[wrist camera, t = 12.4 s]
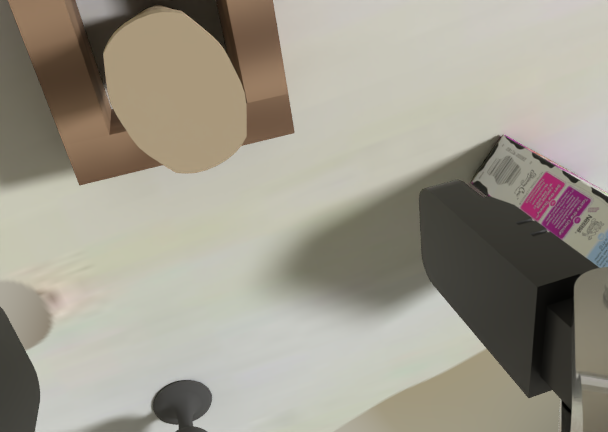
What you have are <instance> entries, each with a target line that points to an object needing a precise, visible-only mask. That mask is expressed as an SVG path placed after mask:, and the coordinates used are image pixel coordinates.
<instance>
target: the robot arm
mask: <svg viewBox="0 0 608 432" xmlns="http://www.w3.org/2000/svg"><path fill="white" fill-rule="evenodd" d="M419 210H420V231H421V252H422V260H423V264H424V268H425V270H426V273H427V275H428V277H429V279H430V281H431V282H432V284H433V285H434V286H435V288H436V289H437V290H438V291H439V292H440V293H441V295H442V296H443V297H444V298H445V299H446V301H447V302H448V303H449V304H450V305H451V307H452V308H453V309H454V310H455V311H456V312H457V314H458V315H459V316H460V317H461V318H462V320H463V321H464V322H465V323H466V324H467V326H468V327H469V328H470V329H471V330H472V331H473V333H474V334H475V335H476V336H477V337H478V339H479V340H480V341H481V342H482V343H483V345H484V346H485V347H486V348H487V349H488V350H489V352H490V353H491V354H492V355H493V356H494V358H495V359H496V360H497V361H498V362H499V364H500V365H501V366H502V367H503V368H504V370H505V371H506V372H507V373H508V374H509V375H510V377H511V378H512V379H513V380H514V381H515V383H516V384H517V385H518V386H519V387H520V388H521V390H522V391H523V392H524V393H525V394H526V396H527V397H528V398H531V397H533V396H536V395H539V394H542V393H545V392H547V391H550V390H553V391H554V392H555V393H556V394H557V395H558V396H559V398H560V399H561V402H560V410H559V432H608V267H602V268H599V267H598V266H597V265H595V264H594V263H593V262H591V261H590V260H589V259H587V258H586V257H584V256H583V255H582V254H580V253H579V252H578V251H576V250H575V249H574V248H572V247H571V246H570V245H568V244H567V243H565V242H564V241H563V240H561V239H560V238H559V237H557V236H556V235H555V234H553V233H552V232H551V231H550V232H547V229H546V228H545V227H544V226H542V225H541V224H540V223H538V222H537V221H536V220H535V221H533V220H532V218H531V217H530V216H529V215H527V214H526V213H525V212H523V211H522V210H521V209H519V208H518V207H517V206H515V205H513V204H511V203H508V202H505V201H502V200H499V199H496V198H493V197H491V196H488V197H485V198H483V197H482V196H481V195H479V194H478V193H477V192H475V191H474V190H473V189H472V188H470V187H469V186H468V185H466V184H465V183H464V182H462V181H461V180H454V181H450V182H447V183H443V184H439V185H436V186H432V187H428V188H425V189H422V191H421V192H420V196H419ZM39 403H40V388H39V382H38V377H37V374H36V371H35V369H34V366H33V364H32V363H31V361H30V359H29V357H28V355H27V353H26V351H25V349H24V347H23V346H22V344H21V342H20V340H19V338H18V336H17V334H16V332H15V330H14V329H13V327H12V325H11V323H10V321H9V319H8V317H7V315H6V314H5V312H4V311H3V309H2V308H1V307H0V432H35V426H36V420H37V415H38V409H39Z"/></svg>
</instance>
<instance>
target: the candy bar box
mask: <svg viewBox="0 0 608 432" xmlns="http://www.w3.org/2000/svg"><path fill="white" fill-rule="evenodd" d="M471 184H472V185H474V186H475V187H476V188H478V189H479V190H480V191H482V192H483V193H484V194H486V195H487V196H491V197H493V198H496V199H499V200H502V201H505V202H508V203H511V204H513V205H515V206H517V207H518V208H519V209H521V210H522V211H523V212H525V213H526V214H527V215H529V216H530V217H531V218H532V220H533V221H535V220H536V221H537V222H538V223H540V224H541V225H542V226H544V227H545V228H546V229H547V232H550V231H551V232H552V233H553V234H555V235H556V236H557V237H559V238H560V239H561V240H563V241H564V242H565V243H567V244H568V245H570V246H571V247H572V248H574V249H575V250H576V251H578V252H579V253H580V254H582V255H583V256H584V257H586V258H587V259H589V260H590V261H591V262H593V263H594V264H595V265H597V266H598V267H599V268H602V267H608V193H607V192H606V191H604V190H602V189H600V188H599V187H597V186H595V185H593V184H592V183H590V182H588V181H586V180H585V179H583V178H581V177H580V176H578V175H576V174H574V173H573V172H571V171H569V170H567V169H565V168H564V167H562V166H560V165H558V164H557V163H555V162H553V161H551V160H549V159H547V158H546V157H544V156H542V155H540V154H538V153H536V152H535V151H533V150H531V149H529V148H527V147H525V146H523V145H522V144H520V143H518V142H516V141H515V140H513V139H511V138H509V137H508V136H506V135H502V136H501V138H500V139H499V141H498V142H497V144H496V145H495V147H494V148H493V150H492V151H491V153H490V154H489V156H488V157H487V159H486V160H485V161H484V163H483V164H482V166H481V167H480V169H479V170H478V171H477V173H476V175H475V176H474V178H473V180H472V181H471Z"/></svg>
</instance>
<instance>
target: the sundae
mask: <svg viewBox="0 0 608 432" xmlns="http://www.w3.org/2000/svg"><path fill="white" fill-rule="evenodd" d="M211 401H212V395H211V392H210V390H209V389H208V388H207V387H206V386H205V385H203V384H202V383H200V382H196V381H191V380H184V381H178V382H175V383H172V384H170V385H168V386H166V387H165V388H164V389H162V390H161V391H160V392H159V393H158V395H157V396H156V398H155V400H154V405H153V407H154V412H155V414H156V415H157V417H158V418H160V419H161V420H162V421H164V422H166V423H170V424H176V425H177V424H179V430H177V431H176V432H207V431H205V430H203V429H201V428H198V427H194V426H193V423H192V421H194V420H196V419H198V418H200V417H201V416H203V415H204V414H205V413H206V412H207V410H208V409H209V407H210V405H211Z"/></svg>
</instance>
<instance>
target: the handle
mask: <svg viewBox="0 0 608 432" xmlns="http://www.w3.org/2000/svg"><path fill="white" fill-rule="evenodd" d="M103 57H104V67H105V76H106V84H107V91H108V95H109V99H110V103H111V105H112V107H113V109H114V111H115V113H116V115H117V117H118V118H119V120H120V121H121V123H122V125H123V126H124V128H125V129H126V131H127V132H128V134H129V135H130V137H131V138H132V140H133V141H134V142H135V143H136V145H137V146H138V147H139V148H140V149H141V150H143V151H144V152H145V153H146V154H147V155H149V156H150V157H152V158H153V159H155V160H156V161H158V162H159V163H161V164H163V165H164V166H166V167H167V168H169V169H171V170H172V171H174V172H176V173H197V172H201V171H205V170H208V169H210V168H212V167H215V166H217V165H219V164H220V163H222V162H224V161H225V160H227V159H228V158H230V157H231V156H232V155H233V154H234V153H235V152H236V151H237V150H238V149H239V148H240V146H241V145H242V144H243V142H244V140H245V139H246V137H247V108H246V98H245V92H244V89H243V87H242V84H241V81H240V79H239V77H238V75H237V73H236V71H235V69H234V67H233V65H232V63H231V61H230V59H229V57H228V55H227V53H226V52H225V50H224V48H223V47H222V46H221V44H220V43H219V42H218V41H217V40H216V39H215V38H214V37H213V36H212V35H211V34H210V33H208V32H207V31H206V30H205V29H204V28H203V27H201V26H200V25H199V24H198V23H196V22H195V21H194V20H193V19H191V18H190V17H189V16H188V15H186V14H185V13H184V12H182V11H180V10H174V9H171V8H168V7H164V6H163V5H154V6H153V7H150V8H147V9H145V10H143V11H142V12H140V13H138V14H137V15H136V16H135V17H134V18H132V19H130V20H129V21H127V22H125V23H124V24H123V25H122V26H121V27H119V28H118V29H117V30H116V31H115V32H114V33H113V35H112V36H111V38H110V39H109V41H108V43H107V45H106V47H105V49H104V52H103Z"/></svg>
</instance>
